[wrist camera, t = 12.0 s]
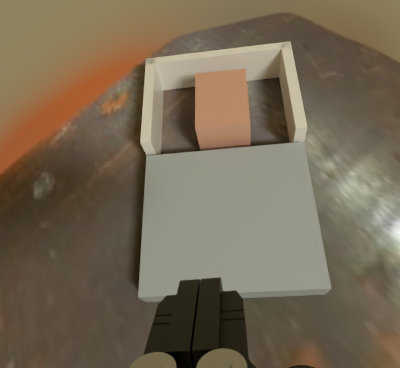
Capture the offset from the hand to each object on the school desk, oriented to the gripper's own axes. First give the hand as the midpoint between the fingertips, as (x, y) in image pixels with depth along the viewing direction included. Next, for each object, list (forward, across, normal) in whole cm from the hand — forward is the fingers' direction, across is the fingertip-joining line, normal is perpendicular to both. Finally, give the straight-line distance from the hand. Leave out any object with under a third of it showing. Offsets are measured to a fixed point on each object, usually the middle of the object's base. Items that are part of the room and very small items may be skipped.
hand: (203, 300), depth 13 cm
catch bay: (+36, -1, -3) cm, 36 cm away
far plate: (+25, 0, +8) cm, 27 cm away
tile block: (+30, -1, 0) cm, 30 cm away
